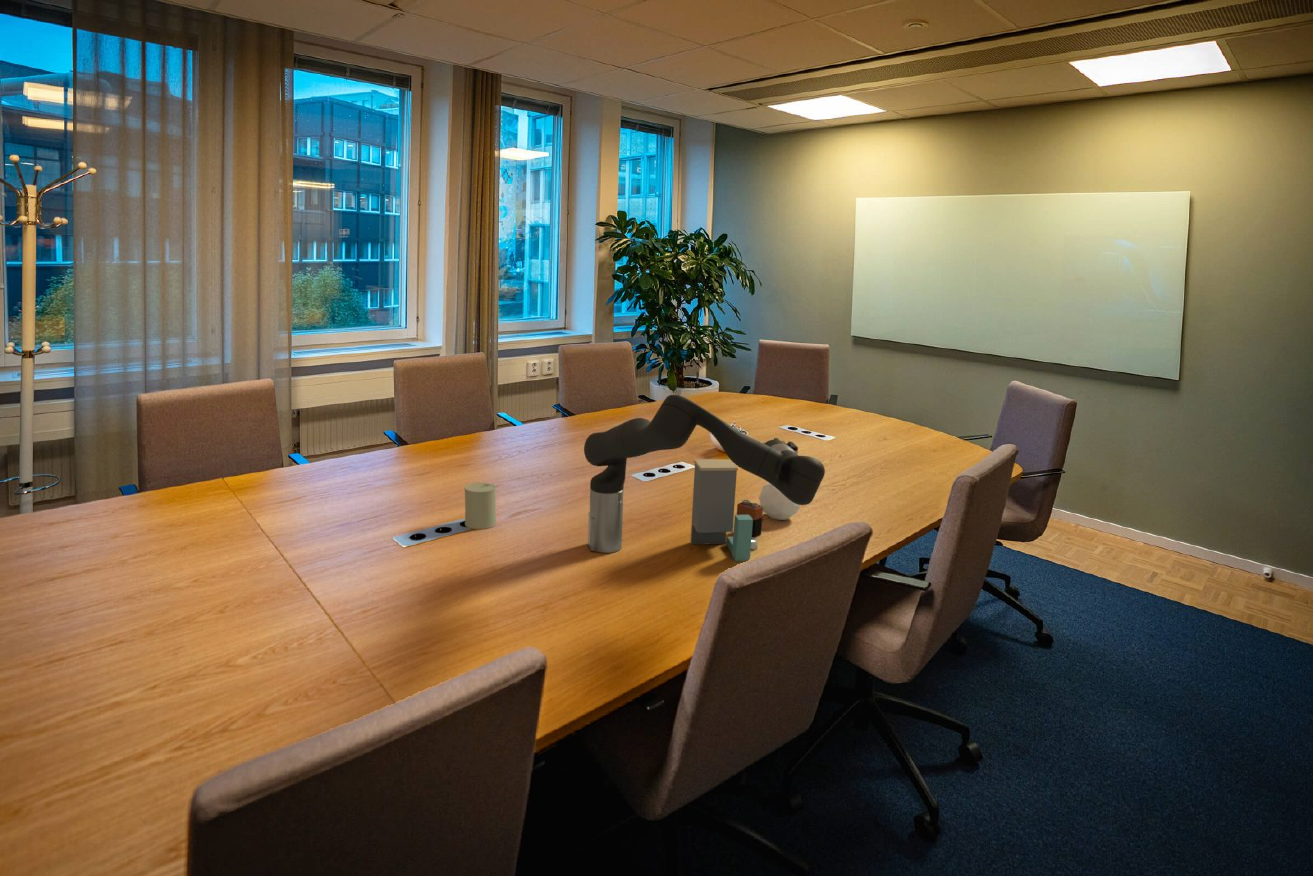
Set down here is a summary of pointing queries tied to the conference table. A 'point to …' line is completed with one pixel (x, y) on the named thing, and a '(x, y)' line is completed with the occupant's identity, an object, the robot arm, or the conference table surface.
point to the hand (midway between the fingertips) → (758, 441)
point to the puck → (754, 543)
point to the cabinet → (713, 500)
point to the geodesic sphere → (776, 503)
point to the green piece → (741, 538)
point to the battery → (752, 514)
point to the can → (480, 505)
